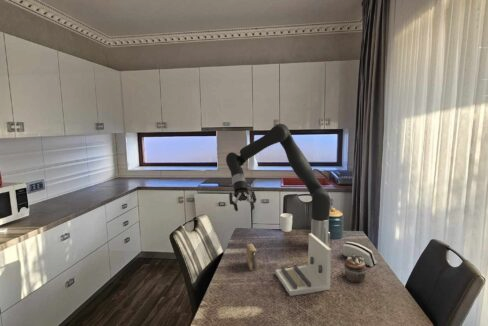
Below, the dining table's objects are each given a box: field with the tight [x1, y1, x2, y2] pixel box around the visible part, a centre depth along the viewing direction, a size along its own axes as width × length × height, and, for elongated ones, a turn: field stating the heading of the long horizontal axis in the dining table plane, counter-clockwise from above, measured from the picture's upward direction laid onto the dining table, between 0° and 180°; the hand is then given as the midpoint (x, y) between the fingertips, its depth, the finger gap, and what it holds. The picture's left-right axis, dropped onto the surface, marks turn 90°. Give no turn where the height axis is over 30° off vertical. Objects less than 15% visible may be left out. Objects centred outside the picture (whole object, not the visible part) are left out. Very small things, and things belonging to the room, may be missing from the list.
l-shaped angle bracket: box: [275, 232, 332, 297], centre depth 130 cm, size 18×18×18 cm
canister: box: [329, 207, 345, 240], centre depth 180 cm, size 13×13×18 cm
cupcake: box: [344, 254, 368, 283], centre depth 133 cm, size 10×10×10 cm
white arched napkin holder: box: [341, 241, 378, 268], centre depth 149 cm, size 17×5×10 cm, turn 37°
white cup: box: [279, 212, 293, 233], centre depth 191 cm, size 8×8×10 cm
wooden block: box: [245, 243, 258, 271], centre depth 144 cm, size 3×9×10 cm, turn 13°
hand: (244, 210), depth 153 cm, fingers open, 8 cm apart
